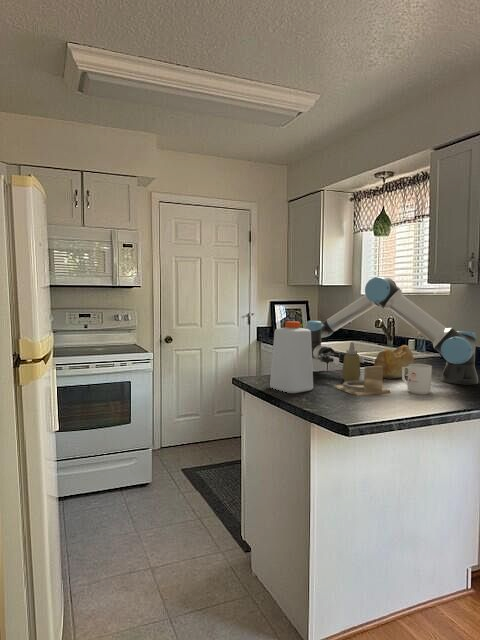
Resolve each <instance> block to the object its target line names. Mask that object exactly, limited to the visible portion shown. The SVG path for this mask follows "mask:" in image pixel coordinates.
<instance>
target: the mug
mask: <svg viewBox="0 0 480 640" xmlns="http://www.w3.org/2000/svg"><path fill="white" fill-rule="evenodd" d="M405 368H408V374H407V380H406V377H405V376H406V375H405ZM432 371H433V366H432V365H430V364H424V363H414V364H409V365H408V367H402V377H401V379H402V381H403V383H405V385H406V386H407V390H408V392H409V393H411V394H414V395H428V394H429V393H431V391H432V375H433V372H432Z"/></svg>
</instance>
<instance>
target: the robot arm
mask: <svg viewBox="0 0 480 640" xmlns="http://www.w3.org/2000/svg"><path fill="white" fill-rule="evenodd" d="M402 292H403V291H402V289H401V288H400V287H398V285H397V284H396V282H395V281H394V280H393V279H392V278H389V277H383V276H375V277H372V278H371V279H369V280H368V281H367V282H366V284H365V287H364V295H362V296H361V297H359V298H357V299H356V300H355V301H353V302H351V303H350V304H349V305H347V306H345V307H344V308H343V309H341V310H339V311H338V312H336V313H335V314H333V315H332V316H330V317H329V318H327V319H325V320H324V321H323V322H322V321H321V320H308V321H307V322H306V328H305V329H309V330H310V331H311V346H312V360H315V361H316V360H317V361H319V362H320V363H322V362H323V363H325V364H329V363H332V364H335V365H340V361H341V360H344V356H345V355H346V354H347V352H337V351H335V350H334V349H333V348H332V347H329V346H324V345H322V339H323V338H328V337H330V336H331V335H332V334H333V333H334V332H336V331H338V330H339V329H341V328H342V327H344V326H346V325H347V324H349V323H350V322H352V321H353V320H355V319H357V318H358V317H360V316H361V315H364V314H365V313H366V312H368V311H370V310H371V309H373V308H374V307H381V308H382V309H383V310H390V311H392V312H393V313H394V314H395V315H396V316H398V317H400V319H402V320H403V321H404V322H405V323H407V324H408V325H409V326H411V327H412V328H413V329H415V330H416V331H417V332H418V333H419V334H420V335H423V336H424V338H426V339H428V341H430V342H431V343H432V344H433V349H434V350H435V351H437V352H438V353H439V354H440V355H441V356H442V357H443V358H444V360H446V363H445V366H444V368H443V369H444V370H443V372H442V373H441V381H443V382H445V383H449V384H455V385H464V386H465V385H468V386H472V385H473V386H474V385H478V384H479V377H478V373H477V370H476V367H475V365H476V363H475V361H476V345H477V334H476V333H475V332H473V331H472V332H471V331H458V330H456V329H455V328H453V327H446V326H445V325H443V324H442V323H440V322H439V321H438V320H437V319H435V318H434V317H432V316H431V315H430V314H429V313H427V312H426V311H424V310H423V309H422V308H421V307H419V306H418V305H416V304H415V303H414V302H413V301H412V300H410V299H408V298H407V297H406V296H405V295H404V294H403V293H402ZM356 355H358V356H359V360H360V363H362V364H365V356H362V355H359V353H357V354H356Z"/></svg>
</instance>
